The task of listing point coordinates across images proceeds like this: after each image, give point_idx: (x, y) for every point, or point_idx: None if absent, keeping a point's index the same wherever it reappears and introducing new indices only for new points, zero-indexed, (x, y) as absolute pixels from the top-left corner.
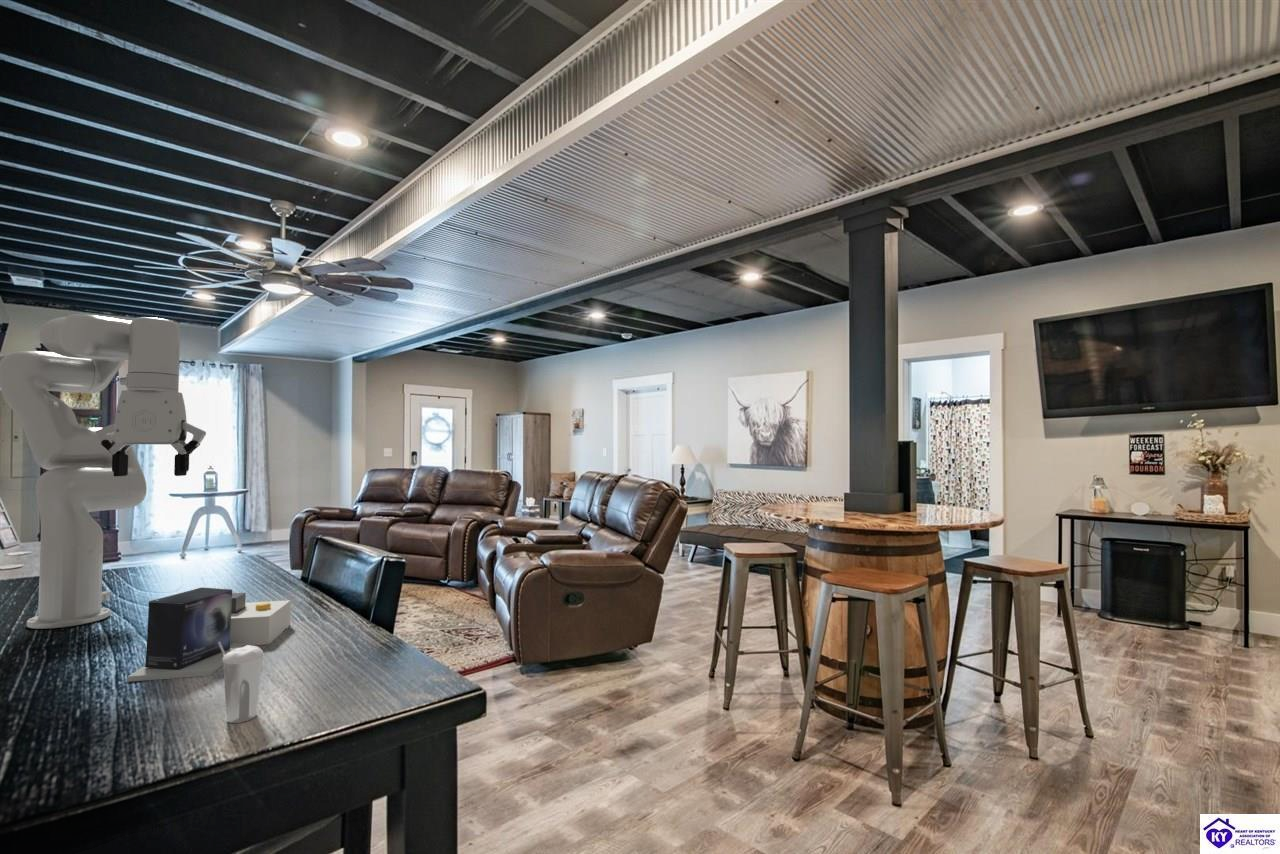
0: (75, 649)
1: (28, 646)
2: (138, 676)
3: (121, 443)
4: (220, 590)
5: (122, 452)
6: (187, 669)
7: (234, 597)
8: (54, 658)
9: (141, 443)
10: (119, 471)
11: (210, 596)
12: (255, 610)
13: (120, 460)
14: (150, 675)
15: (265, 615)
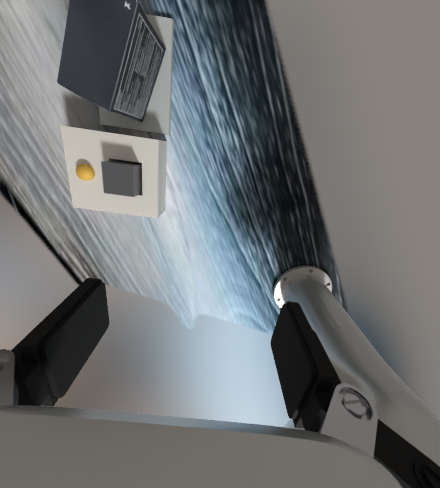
0: (266, 184)
1: (309, 212)
2: (162, 17)
3: (329, 436)
4: (68, 72)
5: (311, 416)
6: None
7: (104, 166)
8: (274, 157)
9: (187, 420)
10: (286, 317)
11: (65, 30)
12: (92, 166)
13: (299, 357)
14: (150, 15)
15: (67, 132)
